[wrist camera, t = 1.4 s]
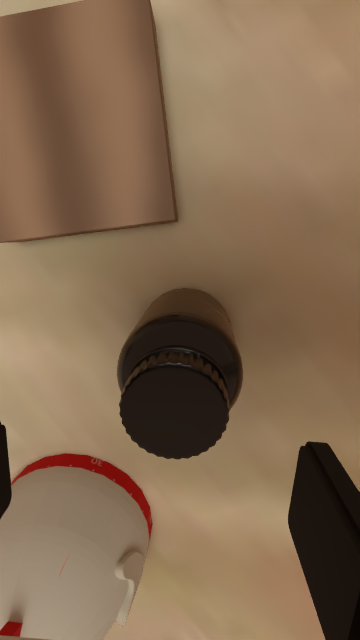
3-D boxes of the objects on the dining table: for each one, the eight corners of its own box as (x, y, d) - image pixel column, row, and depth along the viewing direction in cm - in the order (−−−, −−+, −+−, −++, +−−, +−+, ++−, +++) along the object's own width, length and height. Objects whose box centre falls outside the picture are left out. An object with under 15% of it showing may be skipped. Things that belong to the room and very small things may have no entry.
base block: (154, 23, 20) (147, -12, 17) (178, 221, 23) (174, 219, 20) (-25, 56, 21) (-60, 28, 19) (19, 242, 24) (-5, 242, 21)
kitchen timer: (12, 566, 33) (-136, 829, 18) (0, 447, 29) (-196, 656, 15) (150, 579, 32) (109, 863, 18) (154, 460, 29) (108, 691, 14)
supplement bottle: (132, 297, 25) (74, 351, 13) (220, 278, 24) (240, 318, 13) (154, 378, 27) (119, 489, 15) (237, 363, 26) (268, 467, 14)
